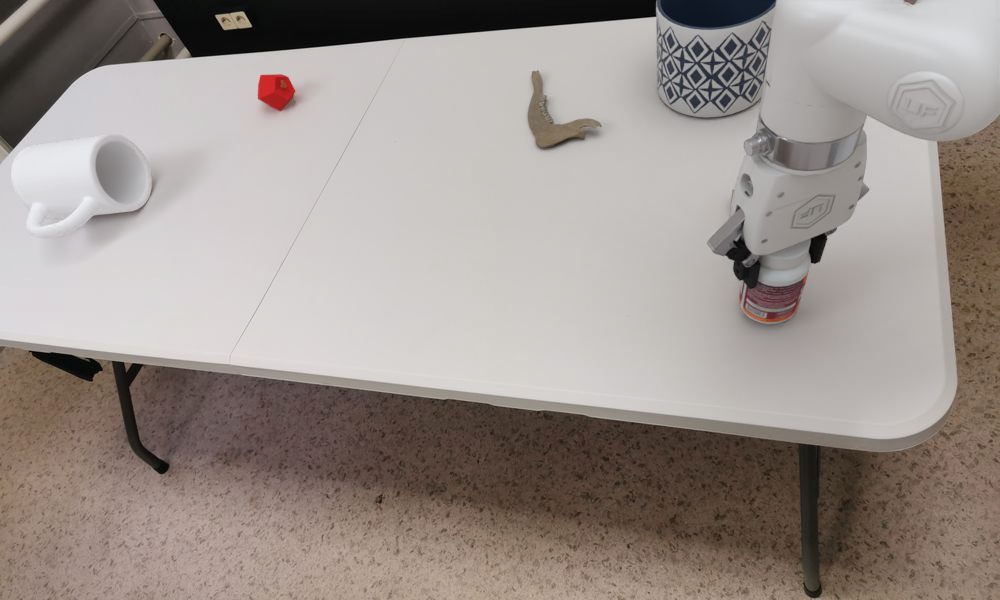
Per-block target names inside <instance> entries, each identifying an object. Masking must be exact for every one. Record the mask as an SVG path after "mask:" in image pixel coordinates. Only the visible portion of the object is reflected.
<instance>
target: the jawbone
mask: <svg viewBox="0 0 1000 600" xmlns="http://www.w3.org/2000/svg"><path fill="white" fill-rule="evenodd" d="M542 78H543V77H542V76H541V72H540V71H539V70H538V69H537V70H532V71H531V81H532V84H533V91H532V92H533V93H532V96H531V98H530V101H529V105H528V108H527V109H528V110H527V122H528V126H529V128H530V130H531V132H532V133H533V134H534V136H535V144H536V145H537V146H538V147H540V148H549V147H553V146H554V145H556V144H558V143H560V142H564V141H565V140H567V139H570V138H571V139H572V138H579V139H581V140H585V139H586V138H585V137H586V133H585V132H586V131H585V130H584V129H583V128H586V127H587V128H588V127H589V128H592V129H594V130H596V129H597V128H599V127H600V128H602V127H603V126H602V123H601V122H600V121H598V120H596V119H593V118H578V119H575V120H572V121H569V122H567V123H554V120H553V118H552V116H551V114H550V113H549V111H548V108H547V101H548V99H547V98H548V96H547V94H543V90H542V89H543V79H542Z"/></svg>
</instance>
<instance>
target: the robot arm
mask: <svg viewBox="0 0 1000 600" xmlns="http://www.w3.org/2000/svg"><path fill="white" fill-rule="evenodd" d="M759 105H760V106H759V111H758V112H759V113H758V119H757V122H756V130H755V133H754V134H753V135H752V136H751V137H750V138H748V139H745V140H744V141H743V149H744V153H745V154H744V157H743V160H742V162H741V165H740V168H739V171H738V174H737V177H736V181H735V185H734V188H733V189H734V193H733V198H732V197H731V198H732V201H731V204H730V211H729V218H728V220H726V221H725V222H724V224H723V225H722V226H720V227H719V229H717V231H715V233H714V234H713V235H711V237H709V239H708V240H707V241H706V244H707V246H708V247H709V249H710V250H711V252H712V253H713V254H715V255H718V256H721V257H727V258H728V259H729V260H730V261H733V265H732V272H733V275H734V276H735V278H736V279H737V280H738V281H739V282H741V280H743V281H744V283H745V284H746V285H747V287H748V288H749V289H753V288H755V287H756V286H757V282H758V277H759V272H760V267H761V264H760V262H759V261H758V258H759V257H760V255H766V254H771V253H774V252H776V251H779V250H782V249H784V248H787V247H790V246H792V245H795V244H797V243H800V242H802V241H805V240H808V239H811V242H810V247H809V254H810V258H811V264H813V265H816V264H818V263H820V262H821V261H822V257H823V254H824V251H825V247H826V244H827V242H828V237H829V236H831V235H833V234H834V233H836V232H837V229H838V228H839V227H841V226H842V225H844V224H846V223H847V222H848V221H849V220H850V219H851V218H852V217H853V214H854V213H855V211H856V207H857V204H858V202H859V201H860V200H862V198H864V197H865V195H867V194H868V193H869V191H870V187H869V186H868V185H866V183H864V178H865V173H866V169H867V160H868V159H867V158H868V140H867V139H868V138H867V133H866V131H865V130H864V127H865V124H866V120H867V117H869V118H871V119H873V120H875V121H876V122H879V123H881V124H882V125H884V126H886V127H888V128H890V129H892V130H893V131H894V130H895V131H897V132H899V133H901V134H904V135H907V136H909V137H912V138H916V139H919V140H924V141H929V142H952V141H958V140H962V139H965V138H969V137H971V136H974V135H975V134H977V133H979V132H981V131H983V130H984V129H986V128H987V127H988V126H989V125H991V124H992V123H993V122H994V121H995V120H996V119H997V118H998V117H999V116H1000V0H916V1H915V3H913V4H907V3H905V2H904V0H776V5H775V10H774V16H773V23H772V30H771V37H770V43H769V50H768V57H767V64H766V71H765V78H764V84H763V91H762V97H761V98H760V104H759Z"/></svg>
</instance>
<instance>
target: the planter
mask: <svg viewBox="0 0 1000 600" xmlns="http://www.w3.org/2000/svg"><path fill="white" fill-rule="evenodd" d="M655 1H656V2H655V15H656V16H655V21H656V22H655V25H656V27H655V30H656V32H655V33H656V81H657V83H656V84H657V92H658V95H659V97H660V99H661V100H662V102H663V103H664V104H665V105H666V106H667V107H669V108H670V109H672V110H673V111H676V112H678V113H679V114H683V115H686V116H690V117H696V118H718V117H725V116H730V115H734V114H736V113H739V112H742V111H744V110H746V109H748V108H750V107H751V106H753V105H754V104H756V103H757V102H758V101H759V100H761V98H762V91H763V84H764V78H765V71H766V64H767V57H768V50H769V43H770V37H771V30H772V23H773V16H774V10H775V5H776V0H655Z"/></svg>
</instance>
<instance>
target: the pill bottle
mask: <svg viewBox="0 0 1000 600" xmlns="http://www.w3.org/2000/svg"><path fill="white" fill-rule="evenodd" d="M810 242H811V239H808V240H805V241H802V242H800V243H797V244H795V245H792V246H790V247H787V248H784V249H782V250H779V251H776V252H774V253H771V254H766V255H760V257H759V258H758V261H759V262H760V264H761V267H760V272H759V277H758V282H757V286H756V287H755V288H753V289H749V288H748V287H747V285H746V284H745V283H744V281H743V280H741V281H740V287H739V295H738V302H739V306H740V309H741V310H742V312H743V313H744V314H745V315H746V316H747V317H748V318H749V319H751V320H752V321H755V322H758V323H760V324H764V325H778V324H781V323H784V322H787V321H788V320H790V319H791V318H792V317H793V316H795V314H796V313H797V311H798V308H799V306H800V302H801V299H802V296H803V293H804V289H805V286H806V284H807V283H806V282H807V279H808V276H809V272H810V268H811V265H812V263H811V258H810V254H809V247H810Z"/></svg>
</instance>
